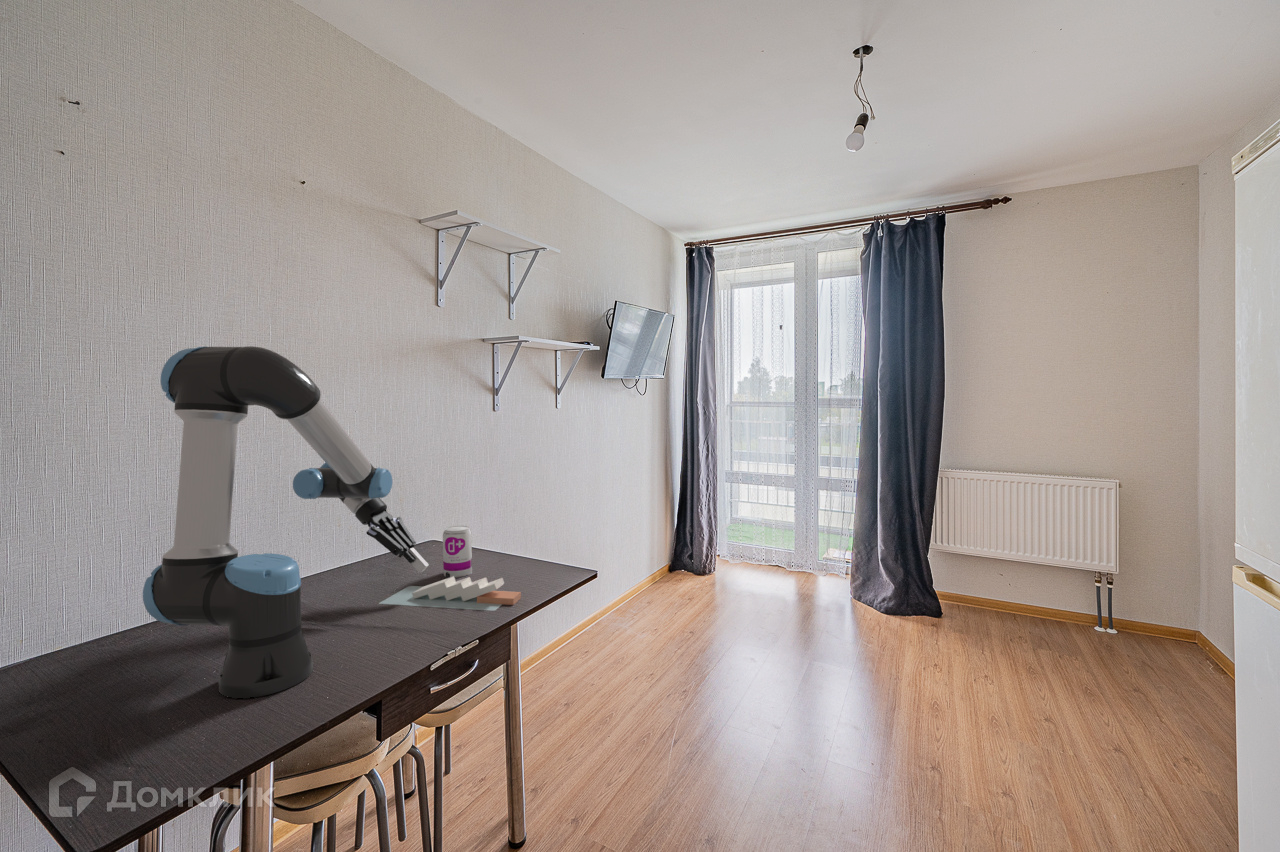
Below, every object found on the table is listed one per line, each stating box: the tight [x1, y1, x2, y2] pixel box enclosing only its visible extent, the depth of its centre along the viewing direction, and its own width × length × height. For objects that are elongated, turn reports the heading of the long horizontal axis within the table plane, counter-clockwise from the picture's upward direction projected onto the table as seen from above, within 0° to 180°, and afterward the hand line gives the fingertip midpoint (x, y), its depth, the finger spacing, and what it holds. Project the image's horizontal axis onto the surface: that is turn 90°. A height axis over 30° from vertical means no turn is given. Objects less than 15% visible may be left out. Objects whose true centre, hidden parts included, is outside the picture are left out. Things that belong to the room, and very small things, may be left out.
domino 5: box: [477, 590, 522, 606], centre depth 147 cm, size 2×5×10 cm
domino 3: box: [445, 577, 489, 601], centre depth 148 cm, size 2×5×10 cm
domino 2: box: [428, 576, 473, 600], centre depth 149 cm, size 2×5×10 cm
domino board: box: [378, 585, 513, 612], centre depth 149 cm, size 14×32×1 cm, turn 80°
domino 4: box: [461, 577, 505, 601], centre depth 147 cm, size 2×5×10 cm
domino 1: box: [412, 576, 456, 599], centre depth 150 cm, size 2×5×10 cm
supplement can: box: [442, 525, 473, 579], centre depth 170 cm, size 8×8×15 cm
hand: (424, 569), depth 150 cm, fingers closed
